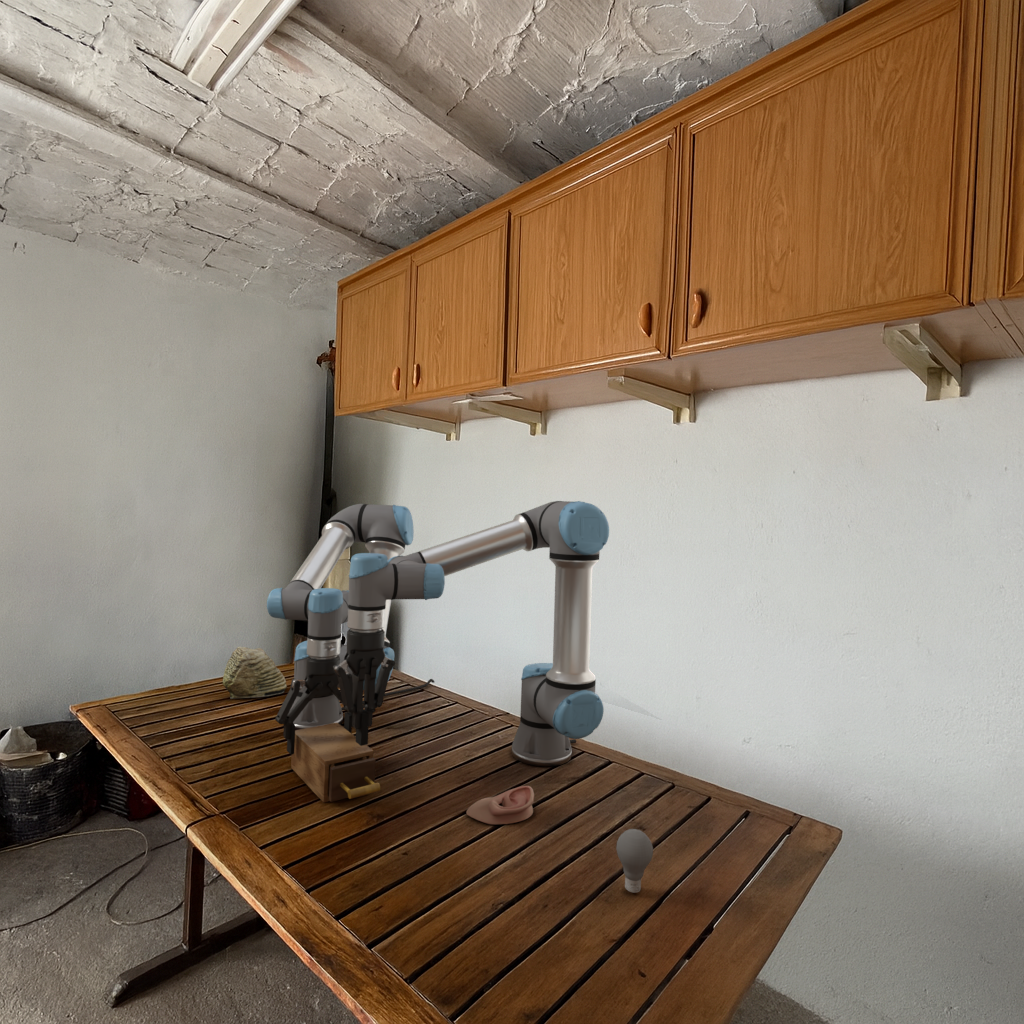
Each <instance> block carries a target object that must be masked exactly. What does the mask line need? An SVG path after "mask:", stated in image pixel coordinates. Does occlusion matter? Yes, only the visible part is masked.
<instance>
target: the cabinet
mask: <svg viewBox="0 0 1024 1024" xmlns="http://www.w3.org/2000/svg"><path fill="white" fill-rule="evenodd" d="M355 741H356V735H354V734H353V733H352V734H351V733H350V732H349V731H347V730H346V729H345V728H344V726H343V725H342V724H338V723H332V724H326V725H321V726H316V727H311V728H305V729H300V730H295V746H294V754H292V755H291V757H290V759H291V761H290V769H292V770H293V772H294V773H295V775H297V776H298V777H299V778H300V779H301V780H302V781H303V782H304V784H305V785H307V786H308V788H309V789H310V790H311V791H312V792H313V793H314V794H315V795H316V796H317V798H318V799H320V801H321V802H322V803H327V802H331V801H330V800H329V792H328V780H329V765H330V764H335V763H339V762H344V761H348V760H352V759H357V758H361V757H365V756H366V757H367V759H369V758H374V750H373V749H372V748H371V747H369V746H368V745H363V746H360V745H359V744H358V743H357V742H355Z"/></svg>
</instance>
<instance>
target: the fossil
mask: <svg viewBox="0 0 1024 1024" xmlns="http://www.w3.org/2000/svg"><path fill="white" fill-rule="evenodd" d="M222 676H223V677H222V685H223V687H224V688H225V690H226V691H228V693H229V698H230V699H250V698H264V697H271V696H275V695H281V694H284V693H285V691H286V689H287V687H288V686H287V680H286V678H285V676H284V674H283V673H282V672H281V669H279V668H278V667H277V665H276V663H275V662H274V660H273V659H272V658H271V657H270V656H269V655H268V654H267V653H266V652H265V650H264V649H263V648H260V647H258V648H251V647H247V646H246V647H245V646H238V647H237V648H236V649H235V650H233V651H232V653H231V656H230V657H229V659H228V660H227V663H226V666H225V668H224V671H223V675H222Z"/></svg>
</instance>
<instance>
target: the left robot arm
mask: <svg viewBox="0 0 1024 1024" xmlns="http://www.w3.org/2000/svg"><path fill="white" fill-rule="evenodd" d="M414 532H415V531H414V521H413V516H412V513H411V510H410V509H409V508H408V507H406V506H404V505H397V504H373V503H372V504H371V503H370V504H369V503H357V504H353V505H350V506H347V507H345V508H343V509H341V510H340V511H338V512H337V513H336V514H334V515H333V516H331V517H330V519H328V521H327V522H326V523H325V524H324V526H323V527H322V529H321V536H320V538H319V539H318V541H317V543H316V544H315V545H314V547H313V548H312V549H311V551H310V553H308V556H307V557H306V558H305V560H304V561H303V563H302V564H301V566H300V567H299V569H298V570H297V571H296V573H295V575H294V576H293V577H292V579H291V580H290V581H289V583H288V584H287V585H286V587H285V588H283V587H277V588H274V589H272V590H271V591H270V592H269V594H268V596H267V598H266V599H267V600H266V610H267V613H268V615H269V616H270V617H271V618H274V619H281V620H292V621H307V639H306V640H304V641H302V642H299V643H298V644H297V645H296V647H295V652H294V653H295V654H294V659H293V661H294V670H293V671H294V672H293V679H291V682H290V683H291V684H290V687H289V688H290V689H289V690H288V692H287V694H286V696H285V699H284V700H283V702H282V704H281V706H280V708H279V710H278V712H277V714H276V716H275V719H274V720H275V721H276V722H277V723H278V724H279V725H283V738H284V740H286V752H287V753H289V755H291V756H292V754H294V746H295V730H300V729H305V728H311V727H316V726H321V725H326V724H332V723H338V724H340V725H342V723H343V727H344V728H345V729H346V730H347V731H349V732H350V733H351V734H353V733H352V731H353V726H352V719H353V712H349V711H347V710H346V709H345V708H344V706H341V705H343V701H342V696H341V691H340V686H339V681H338V676H337V674H336V673H335V671H334V670H333V666H334V665H339V664H340V663H341V662H343V661H344V657H345V655H346V653H347V644H342V625H343V624H345V623H347V622H348V605H349V604H348V602H349V589H348V590H341V589H339V588H333V587H323V586H324V584H325V582H326V581H327V579H328V578H329V576H330V575H331V573H332V571H333V569H334V568H335V566H336V565H337V563H338V561H339V560H340V558H341V557H342V556H343V553H344V552H345V550H348V549H350V548H351V547H352V546H353V545H354V544H356V543H365V544H364V547H365V549H367V551H368V553H378V554H385V555H386V556H387V558H388V560H389V559H390V558H392V557H395V556H402V555H403V554H404V553H405V550H406V546H410V545H412V544H413V541H414ZM391 604H392V600H386V608H385V626H384V627H383V628H382V629H383V630H384V631H385V636H384V647H383V650H384V652H385V657H387V658H389V659H391V660H394V661H395V657H396V656H395V651H394V649H393V648H391V647H390V645H391V641H390V640H389V639H388V638H387V629H388V624H389V616H390V611H391ZM380 668H381V664H380V666H379V667H378V669H377V673H376V679H375V687H376V683H377V679H378V675H379V671H380ZM347 670H348V672H347V673H346V674H347V676H348V680H349V685H350V690H351V695H352V693H353V677H352V671H351V670H350V668H349V667H348V666H347ZM393 670H394V667H393V668H392V670H391V671H390V675H389V679H388V682H389V681H390V678H391V677H392V676H391V675H392V673H393ZM364 683H365V680H364V682H363V691H364ZM431 683H433V684H434V683H435V680H434V679H433V678H430V679H428V680H427V682H426V683H424V684H421V685H417V686H413V687H409V688H404V689H400V690H394V691H390V692H385V695H384V698H385V697H388V696H392V695H397V694H403V693H408V692H412V691H416V690H420V689H423V688H425V687H428V686H429V685H430V684H431ZM362 709H364V710H365V708H364V700H363V706H362ZM343 711H345V712H344V714H343Z"/></svg>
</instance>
